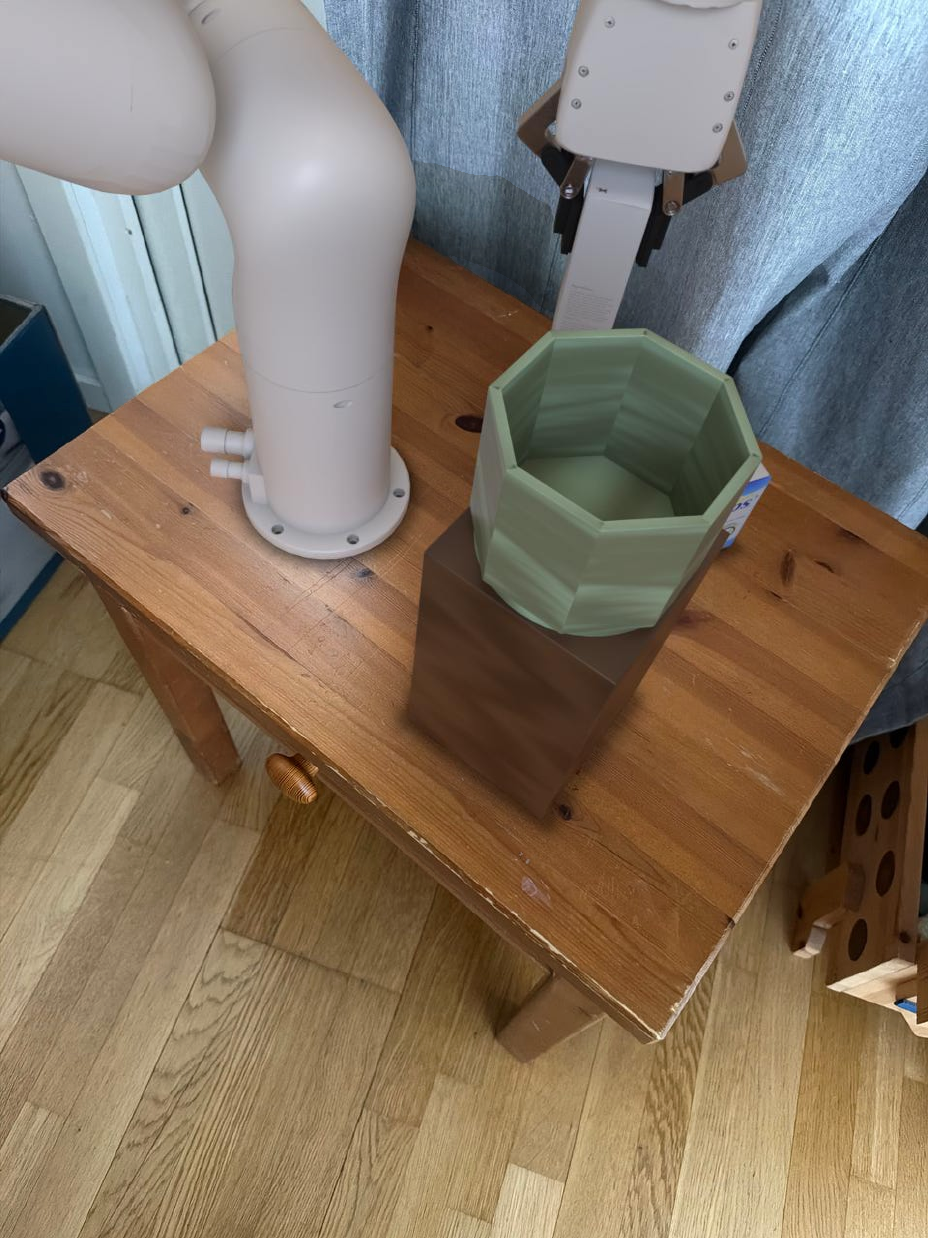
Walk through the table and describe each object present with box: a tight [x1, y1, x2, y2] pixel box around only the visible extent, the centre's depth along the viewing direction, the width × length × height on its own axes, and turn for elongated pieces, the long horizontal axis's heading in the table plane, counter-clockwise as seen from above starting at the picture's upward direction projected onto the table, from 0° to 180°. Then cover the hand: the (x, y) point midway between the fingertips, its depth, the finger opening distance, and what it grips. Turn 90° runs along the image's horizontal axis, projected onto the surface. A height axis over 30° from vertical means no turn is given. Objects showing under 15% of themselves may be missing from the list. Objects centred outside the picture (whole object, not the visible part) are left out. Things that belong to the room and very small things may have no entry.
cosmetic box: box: [550, 159, 658, 331], centre depth 62 cm, size 6×4×12 cm
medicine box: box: [722, 462, 772, 549], centre depth 66 cm, size 8×4×9 cm, turn 114°
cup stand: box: [407, 327, 763, 820], centre depth 49 cm, size 11×11×29 cm
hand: (603, 245), depth 61 cm, fingers closed on cosmetic box, 4 cm apart
